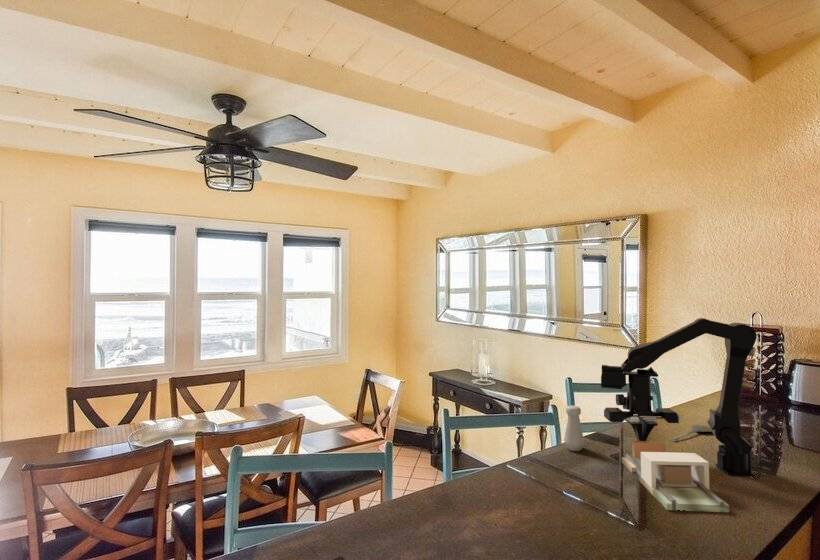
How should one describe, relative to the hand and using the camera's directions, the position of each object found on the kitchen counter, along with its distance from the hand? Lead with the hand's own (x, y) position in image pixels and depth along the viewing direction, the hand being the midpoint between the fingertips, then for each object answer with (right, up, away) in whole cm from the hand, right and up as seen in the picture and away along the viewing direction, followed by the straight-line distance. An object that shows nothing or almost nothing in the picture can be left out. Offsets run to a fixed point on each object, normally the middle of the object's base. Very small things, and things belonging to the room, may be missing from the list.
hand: (641, 444), depth 126 cm
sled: (-1, -2, -13) cm, 13 cm away
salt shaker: (-16, -5, +9) cm, 19 cm away
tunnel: (-2, -2, -19) cm, 19 cm away
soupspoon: (+26, -5, +19) cm, 33 cm away
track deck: (-2, -4, -16) cm, 17 cm away
